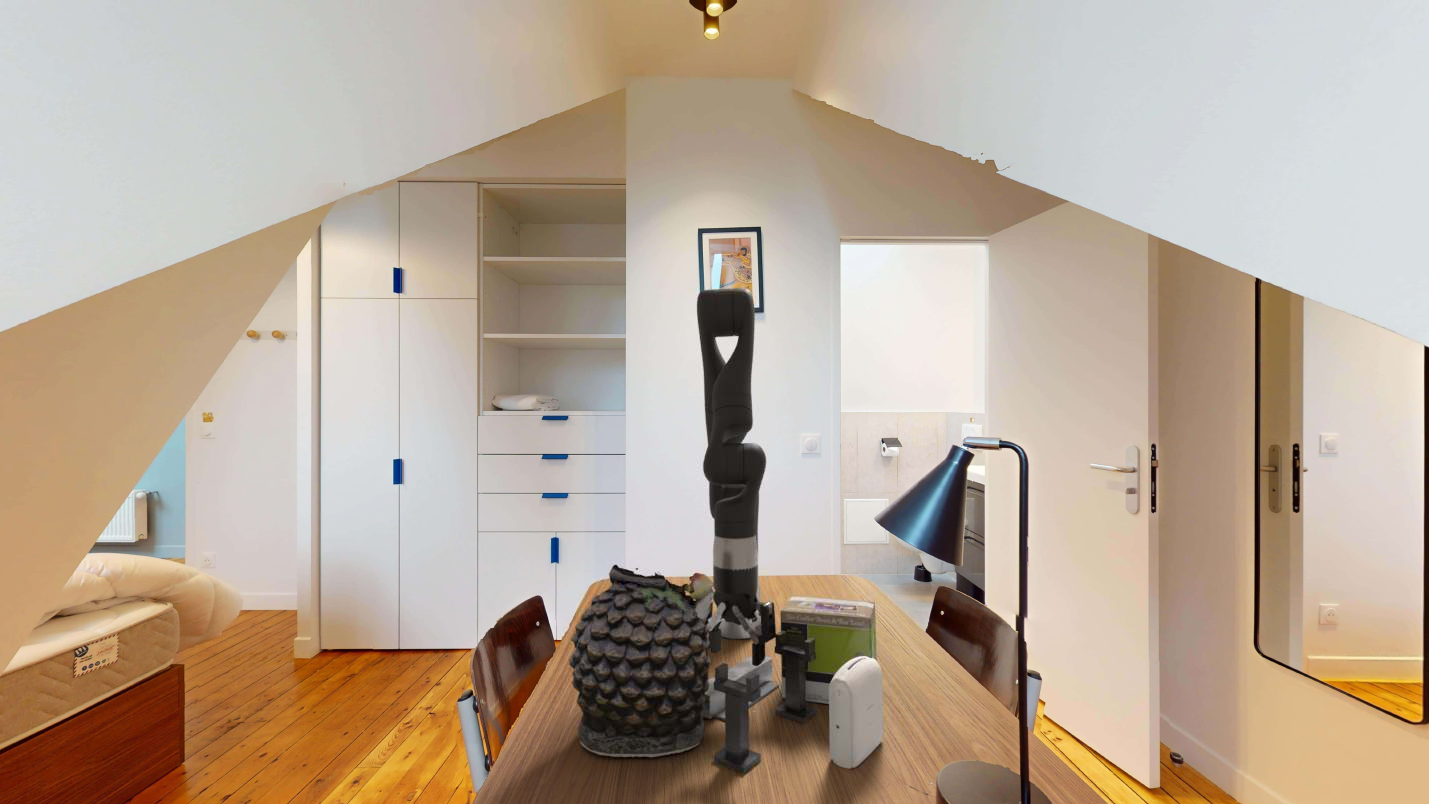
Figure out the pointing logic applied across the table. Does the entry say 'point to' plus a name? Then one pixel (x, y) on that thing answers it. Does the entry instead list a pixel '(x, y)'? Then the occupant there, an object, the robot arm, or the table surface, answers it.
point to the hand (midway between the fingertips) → (736, 658)
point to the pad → (765, 690)
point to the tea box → (828, 637)
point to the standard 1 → (737, 720)
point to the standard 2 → (795, 678)
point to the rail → (736, 673)
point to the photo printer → (855, 711)
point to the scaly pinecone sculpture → (643, 665)
